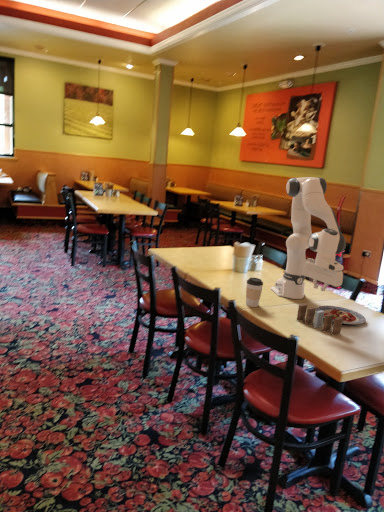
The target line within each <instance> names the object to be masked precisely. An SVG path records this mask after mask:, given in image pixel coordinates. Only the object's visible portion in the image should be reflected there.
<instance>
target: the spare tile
mask: <svg viewBox="0 0 384 512" xmlns="http://www.w3.org/2000/svg"><path fill="white" fill-rule="evenodd" d="M323 317H324V311H323V310H320V311H317V312H315V316H314V321H313V326H312V327H313V328H315V329H318V328H321V327H323V323H324V318H323Z"/></svg>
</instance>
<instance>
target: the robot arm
mask: <svg viewBox="0 0 384 512" xmlns="http://www.w3.org/2000/svg"><path fill="white" fill-rule="evenodd" d="M285 186H286V187H285V190H286V194H287V195H288V196H289V197H292V202H291V211H290V212H291V213H290V214H291V215H290V217H291V218H290V223H291V224H292V225H291V226H292V231H293V233H292V234H290V235H289V236H288V238H287V239H286V241H285V246H286V250H287V251H286V253H287V254H286V255H287V256H286V257H287V258H286V260H287V261H286V268H285V270H284V271H282V273H283V275H282V276H281V277H280V278H278V279H276V280H275V282H274V285H273V286H271V287H270V290H271V291H273V293H275V294H276V296H278V297H283V298H287V299H293V300H301V299H304V297H305V296H306V293H305V284H306V283H305V278H306V277H307V278H310V279H311V280H312V284H313V289H316V290H317V289H319V284H318V282H321V283H323V286H321V287H320V291H321V292H326V289H327V287H329V285H330V286H334V287H340V286H342V284H343V280H344V272H343V270H344V269H345V268H344V265H343V264H341V263H340V262H338V261H337V260H336V255H339V254H341V253H342V252H343V251H344V250H345V249H346V246H347V241H346V238H345V235H343V233H342V230H341V228H340V225H339V223H338V220H337V217H336V214H335V211H334V209H333V208H332V207H331V206H330V205H329V204H328V202H327V201H326V198H325V194H326V192H327V188H328V187H327V186H328V184H327V181H326V179H325V178H324V177H313V176H306V177H292V178H289V179H288V180H287V183H286V185H285ZM311 216H314V217H316V218H318V219H320V220H321V221H324V223H325V224H326V227H327V228H324V229H322V230H321V231H317V232H313V233H312V224H311V222H312V221H311V220H312V217H311ZM307 249H310V251H313V252H316V256H315V258H314V259H313V258H311V257H309V258H307V259H306V251H307Z"/></svg>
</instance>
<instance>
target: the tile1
mask: <svg viewBox="0 0 384 512" xmlns="http://www.w3.org/2000/svg"><path fill="white" fill-rule="evenodd" d="M307 309H308V304H306V303H303V304H299V305H298V309H297V315H296V321H298V322H300V321H304V320H306V314H307Z"/></svg>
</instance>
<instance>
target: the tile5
mask: <svg viewBox="0 0 384 512" xmlns="http://www.w3.org/2000/svg"><path fill="white" fill-rule="evenodd" d="M342 320H343V318H341V317H338V318H335V319H334V321H333V323H332V328H331V336H337V335H340V334H341V331H342V325H343V323H342Z"/></svg>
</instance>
